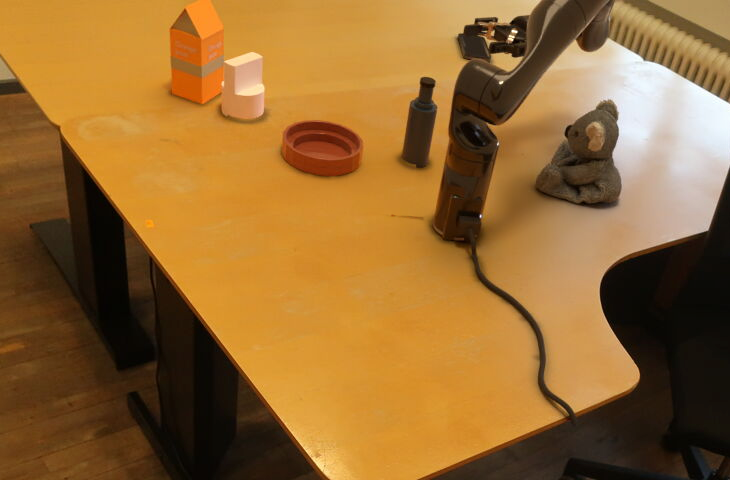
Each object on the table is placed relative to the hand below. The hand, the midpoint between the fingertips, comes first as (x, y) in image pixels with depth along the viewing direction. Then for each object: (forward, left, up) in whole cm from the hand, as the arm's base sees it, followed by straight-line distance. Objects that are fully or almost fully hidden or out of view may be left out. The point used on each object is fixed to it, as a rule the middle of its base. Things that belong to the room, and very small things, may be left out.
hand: (477, 39), depth 171 cm
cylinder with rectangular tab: (+8, +47, -26) cm, 54 cm away
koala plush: (-11, -27, -26) cm, 39 cm away
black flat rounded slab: (+61, -14, -25) cm, 68 cm away
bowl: (-9, +30, -26) cm, 40 cm away
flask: (-5, +10, -26) cm, 28 cm away
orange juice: (+15, +57, -26) cm, 64 cm away
